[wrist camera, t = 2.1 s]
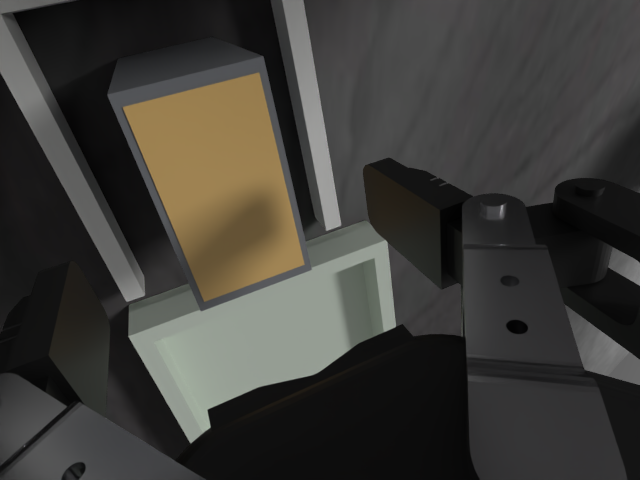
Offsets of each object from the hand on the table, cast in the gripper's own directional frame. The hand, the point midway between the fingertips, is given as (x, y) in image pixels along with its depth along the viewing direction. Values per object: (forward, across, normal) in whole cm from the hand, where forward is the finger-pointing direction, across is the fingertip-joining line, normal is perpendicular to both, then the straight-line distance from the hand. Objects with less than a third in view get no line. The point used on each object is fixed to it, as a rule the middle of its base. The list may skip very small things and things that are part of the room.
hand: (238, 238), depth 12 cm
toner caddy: (+13, 0, 0) cm, 13 cm away
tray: (+13, -2, +19) cm, 23 cm away
